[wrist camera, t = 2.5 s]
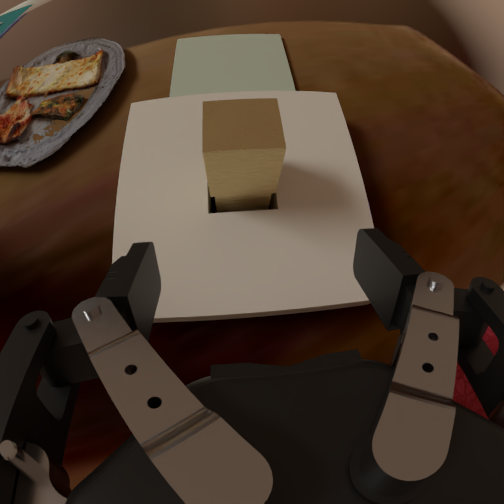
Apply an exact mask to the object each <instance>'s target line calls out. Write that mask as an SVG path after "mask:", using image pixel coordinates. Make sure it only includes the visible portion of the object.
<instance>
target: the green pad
mask: <svg viewBox="0 0 504 504" xmlns="http://www.w3.org/2000/svg"><path fill="white" fill-rule="evenodd" d="M240 91H296V90H295V86H294V83H293V79H292V75H291V71H290V68H289V64H288V60H287V57H286V53H285V50H284V46H283V43H282V40H281V36H280V34H236V35H216V36H203V37H193V38H184V39H178V40H177V46H176V52H175V59H174V66H173V73H172V81H171V89H170V97H177V96H186V95H196V94H208V93H222V92H240Z"/></svg>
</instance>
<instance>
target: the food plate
mask: <svg viewBox="0 0 504 504" xmlns="http://www.w3.org/2000/svg"><path fill="white" fill-rule="evenodd" d="M89 39H91V40H88V39H83V40H78V41H73V42H70V43H71V44H69V43H66V44H65V45H62V46H57V47H55V48H52V49H50V50H48V51H46V52H44V53H42V54H41V55H39V56H37V57H36V58H35V59H33V60H32V61H31V62H29V63H27V64H26V65H24V66H22V67H19V66H17V67H15V68H14V69H13V73H12V75H11V77H10V79H9V80H8V81H7V82H5V83H4V84H3V85H2V87H1V88H0V167H3V166H7V167H12V166H16V165H18V166H20V165H23V166H21V167H25V168H27V167H30V166H32V165H34V164H36V163H38V162H40V161H41V160H44V158H47V157H49V156H50V155H52V154H53V153H55V152H56V151H57V150H59V149H60V148H61V146H62V145H63V144H65V143H66V142H67V141H69V138H70V137H71V135H72V134H73V133H75V132H76V131H77V130H78V129H79V128H81V127H82V126H83V125H84V124H85V123H86V122H87V121H88V120H89V119H90V118H91V117H92V115H93V114H94V113H95V112H96V111H97V110H98V108H99V107H100V106H101V105H102V103H104V101H105V99H106V98H107V97H108V95H109V94H110V92H111V90H113V87H114V85H115V84H117V83H116V82H117V81H118V79H119V78H120V76H121V73H122V72H123V70H124V68H125V59H124V58H125V56H124V55H125V53H124V52H123V49H122V47H120V45H119V44H117V43H116V42H114V41H109V40H106V39H97V38H89ZM92 86H93V87H94V86H96V87H95V89H94V91H93V92H92V94H91V96H90V98H89V99H88V101H87V103H86V104H85V106H84V108H83V109H82V110H81V112H80V113H79V114H77V116H76V117H75V118H73V119H72V121H71V122H70V123H68V124H67V125H65V127H63V126H61V128H62V127H63V128H62V129H61V130H60V131H59V132H57V131H56V132H57V133H56V132H54V131H53V132H54V135H53V136H52V137H50V136H46V137H45V136H44V135H45V133H44V132H45V131H47V130H43V129H44V128H45V127H47V125H50V124H51V123H52V120H56V119H58V120H65V121H68V118H69V117H70V116H71V115H72V114H73V113H75V112H77V110H78V109H79V108H80V106H81V104H82V102H83V99H82V98H83V96H80V95H78V94H77V93H75V94H74V93H72V92H79V90H84V89H90V87H92ZM69 93H72V94H69ZM61 94H62V95H61ZM66 94H67V95H66ZM54 123H55V122H54ZM54 123H53V125H54ZM50 126H52V125H50ZM50 126H49V127H50ZM50 130H51V128H50ZM47 132H48V131H47ZM34 134H39V135H40V136H41V135H43V136H44V137H45V138H43V139H42V140H40V142H41V143H40V144H39V142H38V141H39V140H37V142H38V143H37V144H34V143H35V142H34V141H33V142H31V141H32V140H33V138H32V137H33V135H34ZM48 134H49V133H48ZM28 138H30V139H29V140H28V141H27V139H28ZM21 143H22V145H21ZM27 143H28V144H27ZM30 144H31V145H30ZM33 144H34V145H33ZM26 147H30V148H26ZM14 148H15V149H14ZM25 148H26V149H25ZM22 149H23V150H22Z"/></svg>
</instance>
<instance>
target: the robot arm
mask: <svg viewBox="0 0 504 504" xmlns="http://www.w3.org/2000/svg"><path fill="white" fill-rule="evenodd" d="M353 273H354V276H355V279H356V280H357V282H358V283H359V285H360V286H361V288H362V290H363V291H364V293H365V295H366V296H367V298H368V299H369V301H370V303H371V304H372V306H373V308H374V309H375V311H376V312H377V314H378V316H379V317H380V319H381V321H382V322H383V324H384V326H385V328H386V329H387V331H390V330H395V329H400V330H401V332H400V335H399V337H398V341H397V344H396V347H395V350H394V354H393V357H392V360H391V363H390V365H388V364H385V363H382V362H378V361H374V360H366V359H362V358H361V356H360V354H359V352H358V349H356V350H350V351H343V352H337V353H330V354H324V355H321V356H318V357H315V358H313V359H310V360H307V361H304V362H301V363H298V364H295V365H292V366H275V365H265V364H255V363H237V364H221V365H211V376H209V377H205V378H202V379H199V380H196V381H194V382H192V383H190V384H188V385H186V386H185V385H184V384H183V383H182V382H181V381H180V380H179V379H178V377H177V376H176V375H175V374H174V373H173V372H172V371H171V369H170V368H169V367H168V366H167V365H166V364H165V362H164V361H163V360H162V359H161V358H160V356H159V355H158V354H157V353H156V352H155V350H154V349H153V348H152V347H151V345H150V344H149V343H148V341H149V337H150V333H151V328H152V324H153V320H154V316H155V312H156V308H157V304H158V301H159V297H160V293H161V277H160V272H159V267H158V263H157V258H156V253H155V248H154V244H153V242H139V243H133V244H132V246H131V248H130V250H129V251H128V253H127V255H126V256H121V257H120V258H119V259H117V260H116V261H115V262H114V263H113V264H112V266H111V267H110V269H109V273H107V275H106V277H105V279H104V280H103V282H102V284H101V286H100V288H99V290H98V292H97V293H96V295H95V297H94V298H90V299H87V300H85V301H83V302H81V303H80V304H79V305H77V306H76V307H75V309H74V310H73V312H72V318H69V319H65V320H61V321H56V322H52V320H51V318H50V316H49V314H48V313H47V312H45V311H34V312H31V313H29V314H27V315H25V316H24V317H22V318H21V319H20V320H19V321H18V323H17V324H16V326H15V328H14V329H13V331H12V333H11V335H10V336H9V338H8V340H7V342H6V344H5V346H4V347H3V349H2V351H1V353H0V504H504V291H503V290H502V289H501V288H500V286H499V285H497V284H496V283H495V282H493V281H492V280H490V279H487V278H483V277H475V278H473V279H472V281H471V283H470V286H469V289H459V288H454V286H453V283H452V282H451V281H450V280H449V279H448V278H447V277H445V276H443V275H441V274H438V273H434V272H425V271H424V270H423V269H422V268H421V267H420V266H419V264H418V263H417V262H416V261H415V260H414V259H413V258H411V256H410V255H409V254H408V253H406V251H405V250H404V249H403V248H402V247H401V246H400V245H399V244H397V243H396V242H394V241H392V240H390V239H388V238H387V237H386V236H385V235H384V234H383V233H382V232H381V231H380V230H379V229H378V228H367V229H359V231H358V233H357V239H356V246H355V253H354V260H353ZM488 326H489V327H490V328H491V330H492V331H493V332H494V334H495V335H496V336H497V338H498V343H499V346H498V350H497V352H496V354H495V356H494V355H493V353H492V352H491V350H490V349H489V347H488V346H487V344H486V343H485V341H484V340H483V339H482V338H483V336H484V334H485V332H486V330H487V328H488ZM457 362H458V364H459V365H460V367H461V369H462V371H463V372H464V374H465V376H466V378H467V379H468V381H469V383H470V385H471V387H472V388H473V390H474V392H475V394H476V396H477V398H478V399H479V401H480V403H481V405H482V407H483V409H484V411H485V413H486V415H487V417H488V419H489V420H488V419H487V418H485V417H483V416H481V415H479V414H477V413H475V412H474V411H472V410H470V409H468V408H466V407H464V406H463V405H461V404H459V403H457V402H455V401H454V400H453V392H454V385H455V376H456V367H457ZM39 373H40V374H41V375H42V379H41V382H40V384H39V387H38V390H37V393H36V381H37V378H38V375H39ZM96 378H100V379H101V381H102V383H103V385H104V386H105V388H106V390H107V392H108V394H109V395H110V397H111V399H112V401H113V402H114V404H115V406H116V407H117V409H118V411H119V412H120V414H121V416H122V417H123V419H124V421H125V422H126V424H127V425H128V427H129V428H130V430H131V431H132V433H133V434H132V435H131V436H130V437H129V438H128V439H127V440H126V441H125V442H124V443H123V444H122V445H121V446H120V447H119V448H118V449H116V450H115V451H114V452H113V453H112V454H111V455H110V456H109V457H108V458H107V459H106V460H105V461H104V462H102V463H101V464H100V465H99V466H98V467H97V468H96V469H95V470H94V471H93V472H91V473H90V474H89V475H88V476H87V477H86V478H85V479H84V480H82V481H81V482H80V483H79V484H78V485H77V486H76V487H75V488H74V489H73V490H72V492H71V489H70V480H69V476H68V474H67V472H66V470H65V469H64V468H63V467H62V462H63V456H64V451H65V446H66V441H67V436H68V432H69V427H70V423H71V418H72V414H73V410H74V406H75V402H76V398H77V394H78V391H79V387H80V383H81V382H82V381H87V380H91V379H96Z"/></svg>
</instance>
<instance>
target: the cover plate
mask: <svg viewBox="0 0 504 504" xmlns="http://www.w3.org/2000/svg"><path fill="white" fill-rule="evenodd" d="M257 98H277V100H278V105H279V111H280V116H281V121H282V127H283V132H284V138H285V143H286V152H285V156H284V160H283V165H282V169H281V173H280V177H279V182H278V186H277V190H276V193H272V194H271V199H270V206H271V210H255V211H239V212H224V213H212V206H211V197H210V192H209V187H208V181H207V176H206V170H205V164H204V159H203V153H202V117H203V101H215V100H231V99H257ZM367 228H374V226H373V221H372V217H371V212H370V208H369V204H368V199H367V195H366V191H365V187H364V183H363V179H362V176H361V172H360V168H359V165H358V161H357V157H356V154H355V151H354V147H353V144H352V140H351V137H350V134H349V131H348V128H347V124H346V121H345V118H344V115H343V112H342V109H341V106H340V104H339V101H338V98H337V95H336V93H330V92H311V91H240V92H222V93H208V94H196V95H186V96H177V97H169V98H162V99H155V100H148V101H142V102H136V103H131V108H130V113H129V118H128V123H127V129H126V134H125V140H124V146H123V153H122V159H121V166H120V174H119V182H118V191H117V200H116V211H115V222H114V237H113V256H112V264H113V263H114V262H115V261H116V260H117V259H119V258H120V257H121V256H126V255H127V253H128V251H129V250H130V248H131V246H132V244H133V243H139V242H153V244H154V248H155V253H156V258H157V263H158V267H159V272H160V277H161V293H160V297H159V301H158V304H157V308H156V312H155V316H154V320H153V323H158V322H184V321H204V320H221V319H235V318H249V317H261V316H273V315H283V314H293V313H303V312H312V311H321V310H330V309H338V308H346V307H354V306H361V305H367V304H370V301H369V299H368V298H367V296H366V295H365V293H364V291H363V290H362V288H361V286H360V285H359V283H358V282H357V280H356V279H355V276H354V273H353V260H354V253H355V246H356V239H357V233H358V231H359V229H367Z"/></svg>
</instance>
